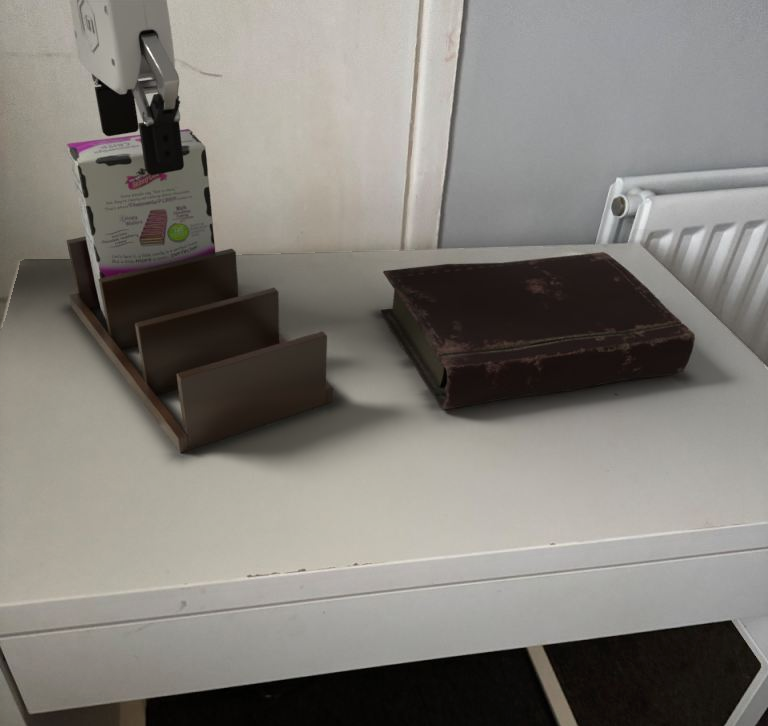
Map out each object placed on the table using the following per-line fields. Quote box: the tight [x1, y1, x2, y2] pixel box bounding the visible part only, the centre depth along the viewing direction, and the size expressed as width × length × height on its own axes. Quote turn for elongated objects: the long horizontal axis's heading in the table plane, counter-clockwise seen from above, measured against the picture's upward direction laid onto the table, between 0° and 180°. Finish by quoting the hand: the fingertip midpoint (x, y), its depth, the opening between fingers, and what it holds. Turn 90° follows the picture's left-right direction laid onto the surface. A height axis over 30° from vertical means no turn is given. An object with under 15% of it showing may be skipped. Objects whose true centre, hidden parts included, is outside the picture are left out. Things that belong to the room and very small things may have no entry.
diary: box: [379, 251, 696, 411], centre depth 81 cm, size 19×25×5 cm
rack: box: [66, 236, 335, 453], centre depth 76 cm, size 26×15×7 cm, turn 34°
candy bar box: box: [66, 128, 216, 320], centre depth 77 cm, size 11×5×16 cm, turn 117°
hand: (142, 151), depth 72 cm, fingers open, 9 cm apart
